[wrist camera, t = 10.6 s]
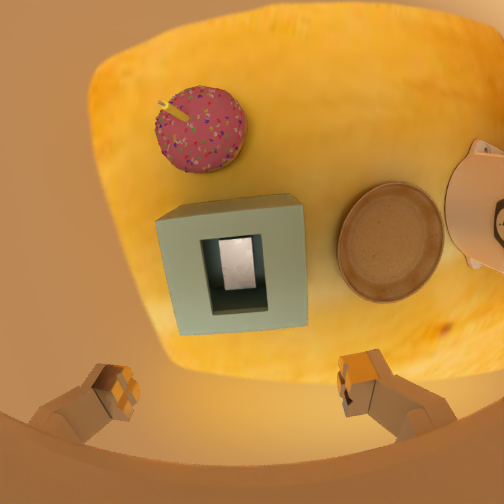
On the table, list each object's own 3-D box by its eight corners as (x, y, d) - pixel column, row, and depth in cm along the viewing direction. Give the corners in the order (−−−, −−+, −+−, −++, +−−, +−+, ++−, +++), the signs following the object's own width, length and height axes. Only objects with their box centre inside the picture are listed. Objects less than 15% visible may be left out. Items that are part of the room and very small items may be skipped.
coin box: (289, 193, 30) (303, 204, 22) (295, 286, 34) (307, 325, 25) (180, 205, 31) (155, 221, 22) (196, 295, 34) (180, 335, 26)
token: (251, 226, 31) (251, 237, 26) (255, 269, 32) (255, 287, 28) (223, 228, 31) (218, 240, 26) (229, 271, 33) (225, 290, 28)
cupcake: (155, 145, 29) (104, 139, 17) (199, 83, 27) (170, 42, 15) (218, 187, 30) (197, 201, 19) (264, 123, 28) (270, 98, 17)
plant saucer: (395, 310, 35) (403, 319, 33) (309, 265, 33) (313, 273, 31) (449, 219, 31) (460, 223, 29) (370, 156, 29) (379, 156, 27)
